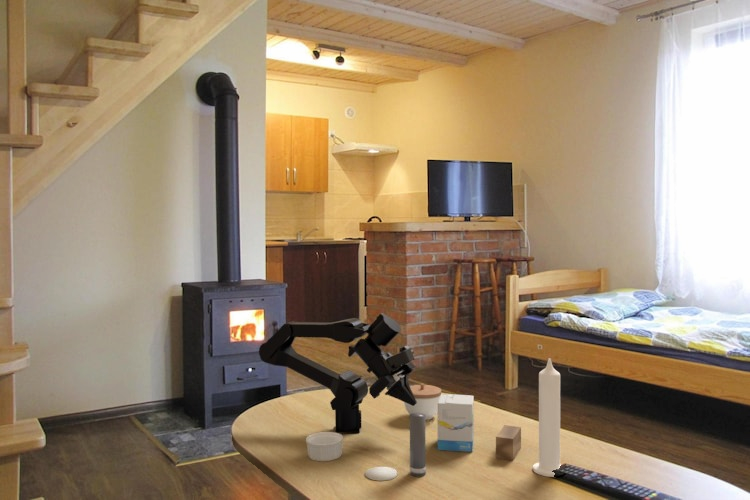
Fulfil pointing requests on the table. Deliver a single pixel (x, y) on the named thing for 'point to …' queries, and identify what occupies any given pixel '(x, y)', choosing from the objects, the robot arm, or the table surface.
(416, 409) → the lidded jar
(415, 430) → the grey tapered rod
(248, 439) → the table surface
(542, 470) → the candle
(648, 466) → the table surface
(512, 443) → the brown wooden block
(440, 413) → the ink box
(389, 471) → the pad
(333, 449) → the ramekin
